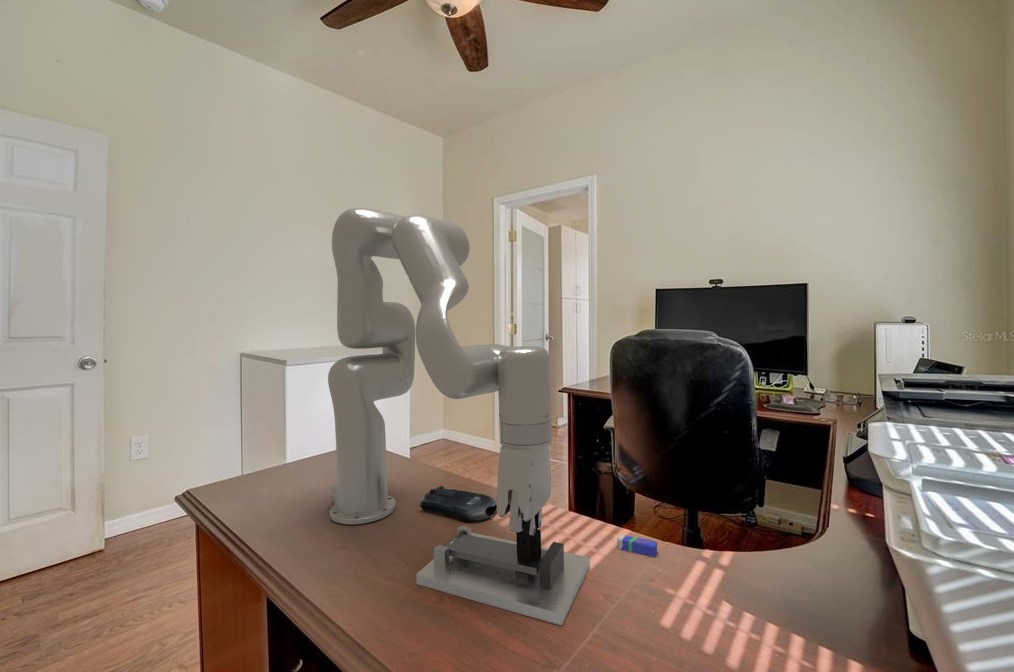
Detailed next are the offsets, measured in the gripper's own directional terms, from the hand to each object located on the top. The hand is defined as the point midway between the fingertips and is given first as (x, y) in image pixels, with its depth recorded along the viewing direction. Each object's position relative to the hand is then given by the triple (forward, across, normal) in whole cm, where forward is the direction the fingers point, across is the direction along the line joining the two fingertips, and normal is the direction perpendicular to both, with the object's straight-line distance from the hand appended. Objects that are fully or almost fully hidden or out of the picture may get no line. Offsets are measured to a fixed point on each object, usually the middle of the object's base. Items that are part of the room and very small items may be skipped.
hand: (529, 557), depth 63 cm
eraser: (+4, -15, +13) cm, 20 cm away
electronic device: (+4, -17, -22) cm, 28 cm away
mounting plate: (+4, 0, -4) cm, 5 cm away
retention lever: (+1, 0, -6) cm, 6 cm away
